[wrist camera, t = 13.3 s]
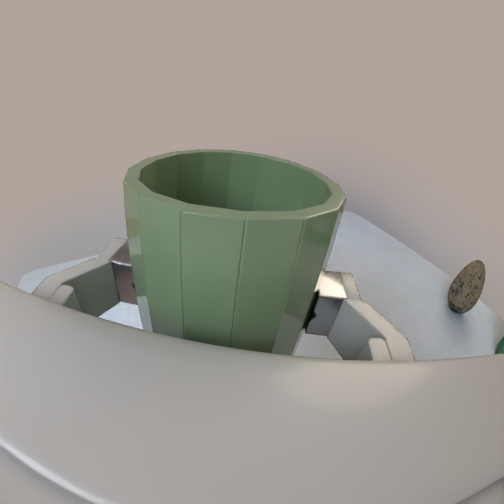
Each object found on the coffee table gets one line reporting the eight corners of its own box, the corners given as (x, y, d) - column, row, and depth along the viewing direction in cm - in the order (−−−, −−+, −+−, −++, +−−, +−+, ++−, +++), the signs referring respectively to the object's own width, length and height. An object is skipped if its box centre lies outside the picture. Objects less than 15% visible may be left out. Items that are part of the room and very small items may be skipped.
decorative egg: (457, 324, 34) (488, 275, 28) (436, 302, 38) (462, 253, 33) (470, 315, 36) (498, 270, 30) (450, 295, 40) (475, 250, 35)
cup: (139, 404, 10) (77, 199, 5) (175, 312, 15) (172, 144, 10) (280, 431, 10) (374, 241, 5) (282, 330, 15) (325, 164, 10)
